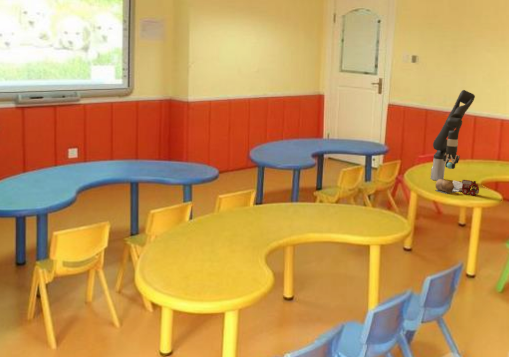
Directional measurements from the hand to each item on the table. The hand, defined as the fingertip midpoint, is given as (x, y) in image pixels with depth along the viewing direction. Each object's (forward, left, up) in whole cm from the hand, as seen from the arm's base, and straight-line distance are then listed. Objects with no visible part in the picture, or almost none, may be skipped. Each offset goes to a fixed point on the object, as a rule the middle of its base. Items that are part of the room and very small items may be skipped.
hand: (449, 167), depth 477 cm
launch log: (0, -4, -17) cm, 18 cm away
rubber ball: (0, 0, -1) cm, 1 cm away
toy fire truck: (+14, +7, -18) cm, 24 cm away
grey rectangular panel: (0, +3, -17) cm, 18 cm away
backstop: (0, +10, -17) cm, 20 cm away
